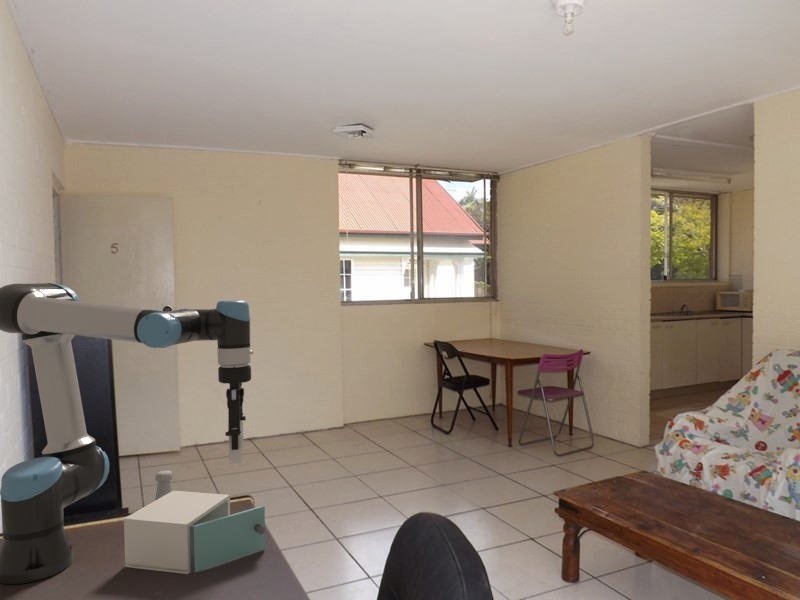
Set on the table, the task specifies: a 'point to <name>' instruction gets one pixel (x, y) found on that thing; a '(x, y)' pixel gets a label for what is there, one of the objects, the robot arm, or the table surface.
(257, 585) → the table surface
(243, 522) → the side door
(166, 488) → the salt shaker
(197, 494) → the storage box
